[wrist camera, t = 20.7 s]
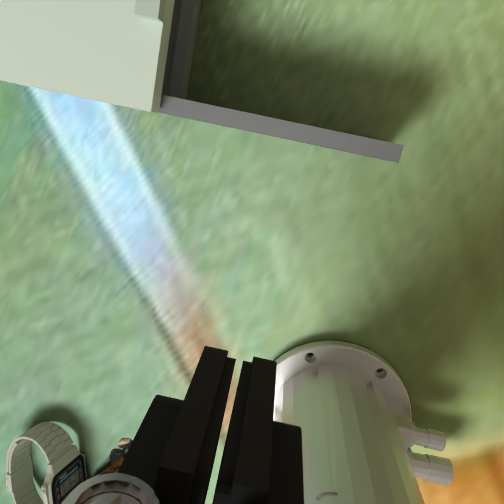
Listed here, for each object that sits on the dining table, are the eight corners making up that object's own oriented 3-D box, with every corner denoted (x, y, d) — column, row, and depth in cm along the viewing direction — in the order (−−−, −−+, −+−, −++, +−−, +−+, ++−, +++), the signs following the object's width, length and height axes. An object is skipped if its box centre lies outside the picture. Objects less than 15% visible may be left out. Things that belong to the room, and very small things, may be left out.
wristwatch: (94, 505, 44) (70, 552, 39) (28, 503, 44) (-4, 550, 39) (80, 417, 41) (52, 456, 36) (11, 417, 42) (-26, 455, 37)
